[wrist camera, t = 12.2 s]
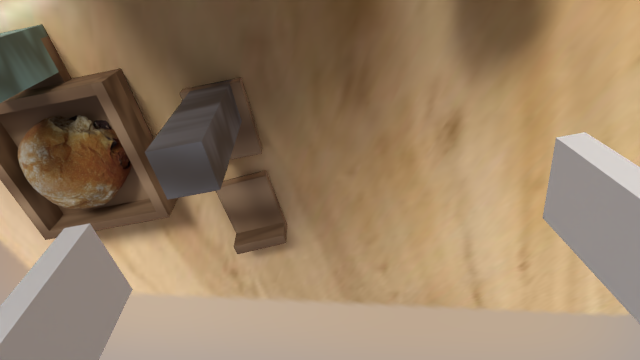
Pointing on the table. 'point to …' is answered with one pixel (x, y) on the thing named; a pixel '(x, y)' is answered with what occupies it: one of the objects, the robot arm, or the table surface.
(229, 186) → the strip
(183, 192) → the grey tall block
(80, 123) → the bread roll
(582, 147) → the robot arm
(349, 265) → the table surface
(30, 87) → the open wooden tray
